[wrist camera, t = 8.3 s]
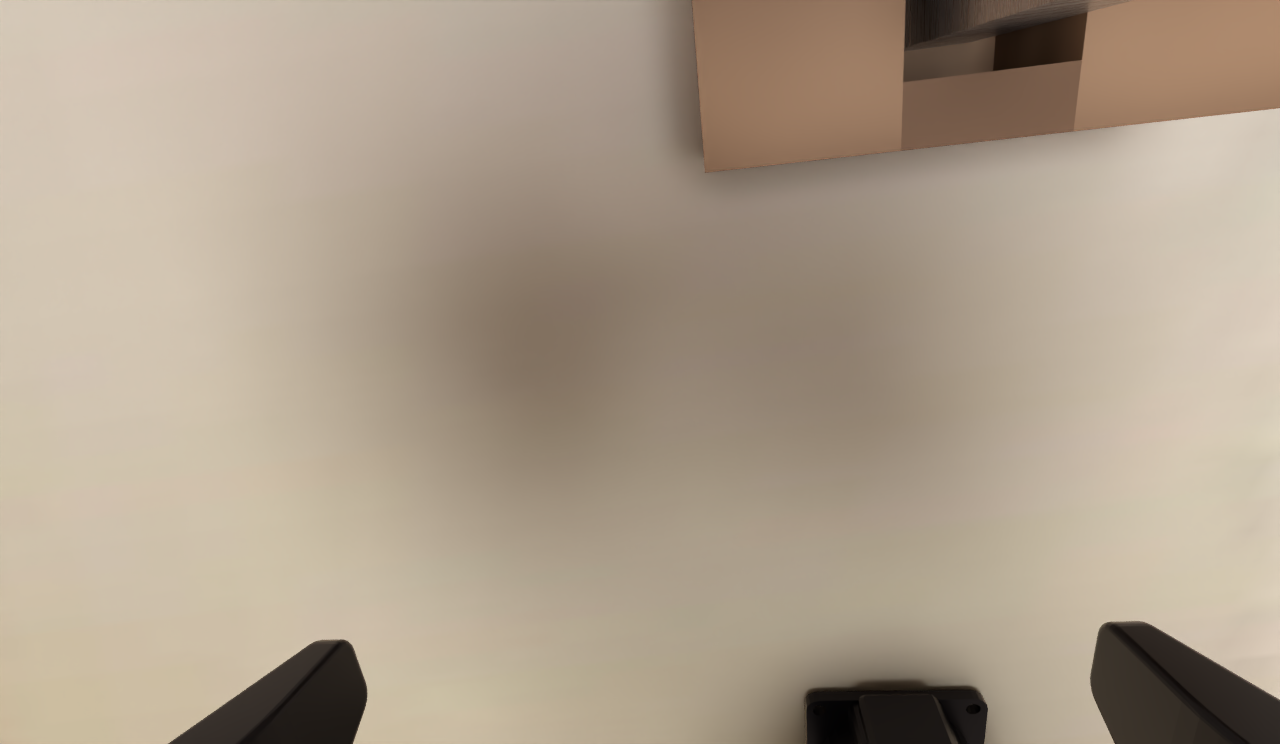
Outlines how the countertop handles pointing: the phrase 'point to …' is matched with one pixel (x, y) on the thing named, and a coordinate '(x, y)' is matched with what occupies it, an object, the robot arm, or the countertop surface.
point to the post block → (965, 75)
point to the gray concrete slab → (983, 18)
